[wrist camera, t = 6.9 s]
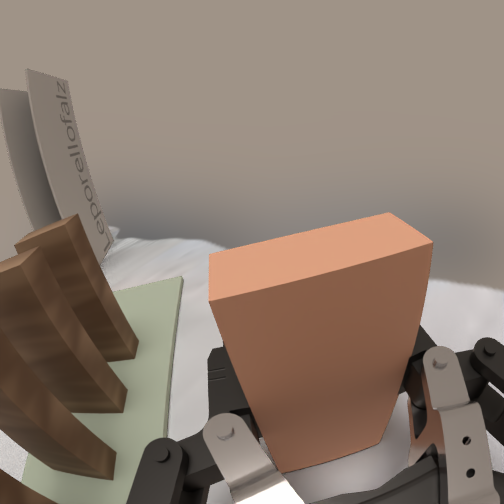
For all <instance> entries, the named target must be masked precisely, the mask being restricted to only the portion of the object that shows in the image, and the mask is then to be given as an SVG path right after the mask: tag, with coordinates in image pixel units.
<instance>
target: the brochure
mask: <svg viewBox="0 0 504 504" xmlns="http://www.w3.org/2000/svg"><path fill="white" fill-rule="evenodd" d="M25 73H26V82H27V90H28V92H26V91H18V90H8V89H0V117H1V122H2V128H3V133H4V138H5V142H6V147H7V152H8V156H9V160H10V163H11V167H12V171H13V174H14V178H15V181H16V185H17V188H18V191H19V194H20V197H21V200H22V203H23V206H24V208H25V211H26V214H27V217H28V219H29V222H30V225H31V227H32V230H33V231H35V230H38V229H40V228H42V227H45V226H47V225H50V224H52V223H54V222H57V221H59V220H62V219H64V218H67V217H69V216H72V215H75V214H77V213H78V215H79V217H80V220H81V222H82V225H83V228H84V230H85V233H86V235H87V238H88V240H89V242H90V245H91V247H92V249H93V252H94V254H95V256H96V259H97V261H98V263H99V265H100V264H101V263H102V261H103V259H104V257H105V255H106V254H107V252H108V250H109V248H110V246H111V245H112V243H113V241H114V240H113V238H112V235H111V233H110V230H109V228H108V225H107V222H106V220H105V217H104V214H103V212H102V209H101V206H100V203H99V200H98V197H97V194H96V191H95V188H94V185H93V182H92V179H91V175H90V172H89V169H88V166H87V162H86V159H85V155H84V152H83V148H82V144H81V141H80V137H79V133H78V128H77V124H76V120H75V116H74V111H73V106H72V101H71V96H70V91H69V86H68V81H67V80H64V79H60V78H57V77H54V76H51V75H47V74H44V73H41V72H37V71H34V70H30V69H25Z"/></svg>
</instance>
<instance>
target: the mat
mask: <svg viewBox="0 0 504 504" xmlns="http://www.w3.org/2000/svg"><path fill="white" fill-rule="evenodd" d="M182 286H183V278H182V276H179V277H175V278H171V279H167V280H162V281H158V282H154V283H149V284H145V285H141V286H137V287H132V288H128V289H124V290H119V291H115V292H113V294H114V296H115V298H116V300H117V302H118V304H119V306H120V308H121V310H122V312H123V313H124V315H125V317H126V319H127V321H128V323H129V324H130V326H131V328H132V330H133V331H134V333H135V335H136V337H137V338H138V340H139V344H138V348H137V352H136V356H135V359H131V360H123V361H115V362H107V363H108V365H109V366H110V367H111V369H112V370H113V371H114V373H115V374H116V375H117V377H118V378H119V379H120V380H121V382H122V383H123V384H124V386H125V387H126V388H127V389H128V392H127V397H126V402H125V407H124V412H123V413H105V414H99V413H72V414H73V415H74V416H75V417H76V418H77V419H78V420H79V421H80V422H81V423H82V424H84V425H85V426H86V427H87V428H88V429H89V430H90V431H91V432H93V433H94V434H95V435H96V436H97V437H98V438H100V439H101V440H102V441H103V442H104V443H106V444H107V445H108V446H109V447H111V448H112V449H113V450H114V451H116V452H117V454H116V462H115V470H114V478H113V481H112V480H104V479H97V478H91V477H85V476H80V475H74V474H70V473H65V472H61V471H56V470H53V469H51V468H50V467H48V466H47V465H45V464H44V463H42V462H41V461H40V460H38V459H37V458H35V457H34V456H33V455H31V454H30V453H28V457H27V460H26V464H25V468H24V472H23V477H22V481H21V483H22V484H24V485H26V486H27V487H29V488H31V489H32V490H34V491H36V492H38V493H39V494H41V495H43V496H45V497H47V498H49V499H51V500H52V501H54V502H56V503H58V504H126V502H127V499H128V496H129V493H130V490H131V487H132V484H133V481H134V478H135V475H136V472H137V469H138V466H139V463H140V460H141V457H142V454H143V451H144V449H145V447H146V446H147V445H148V444H149V443H150V442H151V441H153V440H155V439H158V438H167V424H168V409H169V396H170V385H171V374H172V364H173V354H174V346H175V337H176V329H177V321H178V314H179V306H180V299H181V292H182Z"/></svg>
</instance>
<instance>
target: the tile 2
mask: <svg viewBox="0 0 504 504" xmlns="http://www.w3.org/2000/svg"><path fill="white" fill-rule="evenodd" d="M0 504H58V503H56V502H54V501H52V500H51V499H49V498H47V497H45V496H43V495H41V494H39V493H38V492H36V491H34V490H32V489H31V488H29V487H27V486H26V485H24V484H22V483H21V482H19V481H18V480H16V479H15V478H13V477H12V476H10V475H9V474H7V473H6V472H4V471H3V470H1V469H0Z"/></svg>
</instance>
